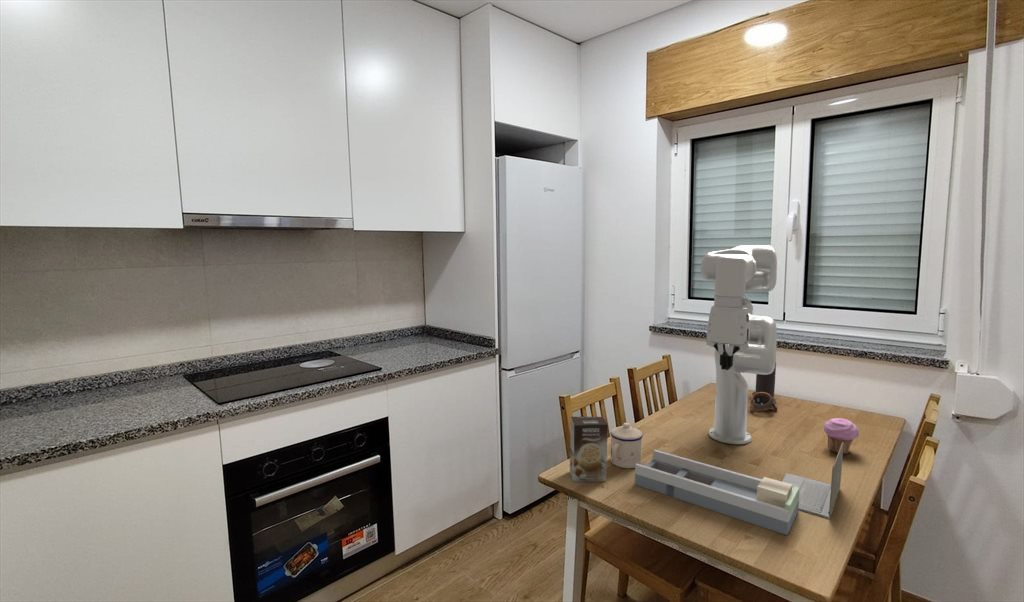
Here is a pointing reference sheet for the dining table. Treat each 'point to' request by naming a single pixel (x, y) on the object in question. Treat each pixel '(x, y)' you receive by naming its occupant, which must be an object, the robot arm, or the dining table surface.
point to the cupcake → (840, 434)
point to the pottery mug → (767, 402)
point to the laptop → (818, 490)
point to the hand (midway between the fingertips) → (726, 368)
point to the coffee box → (588, 449)
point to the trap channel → (715, 490)
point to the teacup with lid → (626, 446)
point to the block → (773, 492)
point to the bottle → (766, 383)
